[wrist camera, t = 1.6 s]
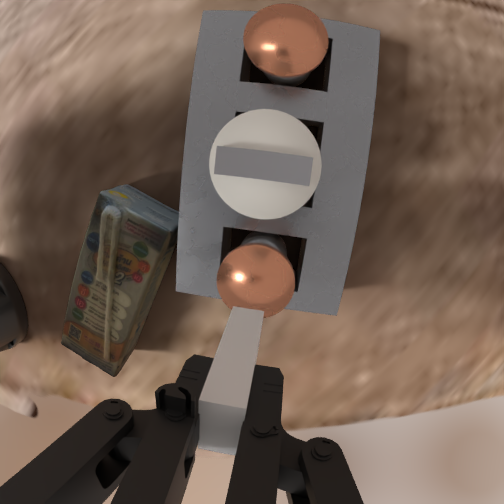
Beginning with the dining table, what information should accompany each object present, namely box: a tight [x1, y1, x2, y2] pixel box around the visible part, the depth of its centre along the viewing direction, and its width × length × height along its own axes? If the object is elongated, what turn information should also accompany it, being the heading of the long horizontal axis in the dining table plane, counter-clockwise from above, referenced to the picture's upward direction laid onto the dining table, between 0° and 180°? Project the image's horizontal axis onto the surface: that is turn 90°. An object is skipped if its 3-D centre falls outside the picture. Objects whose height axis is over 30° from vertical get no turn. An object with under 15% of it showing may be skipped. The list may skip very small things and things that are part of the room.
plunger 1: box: [243, 4, 328, 87], centre depth 20 cm, size 5×5×7 cm
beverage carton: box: [61, 184, 179, 377], centre depth 31 cm, size 8×19×7 cm, turn 152°
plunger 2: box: [217, 231, 295, 318], centre depth 25 cm, size 5×5×7 cm
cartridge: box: [209, 109, 322, 219], centre depth 21 cm, size 5×5×16 cm
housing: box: [176, 10, 380, 316], centre depth 26 cm, size 14×24×5 cm, turn 173°
